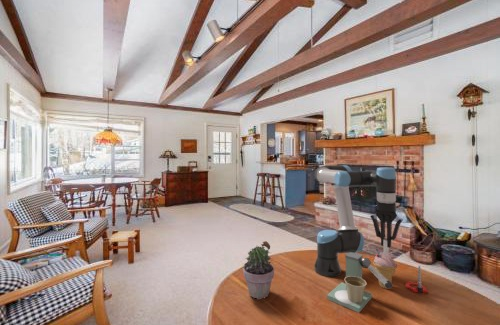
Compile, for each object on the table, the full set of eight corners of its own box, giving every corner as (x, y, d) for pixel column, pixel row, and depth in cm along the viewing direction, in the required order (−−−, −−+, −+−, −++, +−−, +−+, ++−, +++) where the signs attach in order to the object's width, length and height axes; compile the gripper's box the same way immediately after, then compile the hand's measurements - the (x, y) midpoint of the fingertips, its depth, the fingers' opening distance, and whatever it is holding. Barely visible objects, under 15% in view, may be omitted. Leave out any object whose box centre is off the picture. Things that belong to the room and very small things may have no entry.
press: (326, 299, 115) (326, 259, 115) (341, 285, 127) (341, 249, 127) (358, 313, 105) (358, 269, 104) (372, 297, 117) (372, 257, 116)
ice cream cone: (387, 294, 119) (387, 254, 118) (368, 284, 129) (368, 246, 128) (401, 288, 124) (401, 250, 123) (382, 279, 133) (382, 243, 133)
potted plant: (233, 302, 114) (232, 250, 114) (248, 282, 132) (247, 237, 132) (270, 310, 108) (269, 255, 107) (280, 287, 126) (279, 240, 126)
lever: (358, 263, 117) (363, 258, 115) (360, 261, 119) (365, 255, 117) (387, 291, 108) (393, 286, 106) (389, 288, 110) (395, 283, 108)
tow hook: (402, 283, 129) (411, 292, 120) (402, 259, 130) (410, 266, 121) (419, 285, 128) (430, 293, 119) (419, 260, 128) (429, 267, 119)
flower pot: (365, 295, 115) (365, 277, 114) (367, 307, 106) (367, 287, 106) (344, 292, 118) (344, 274, 118) (344, 303, 109) (344, 284, 109)
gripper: (367, 201, 111) (367, 252, 111) (400, 204, 102) (400, 260, 102) (373, 198, 116) (373, 247, 117) (404, 202, 107) (404, 255, 108)
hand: (386, 253), depth 109 cm, fingers closed
